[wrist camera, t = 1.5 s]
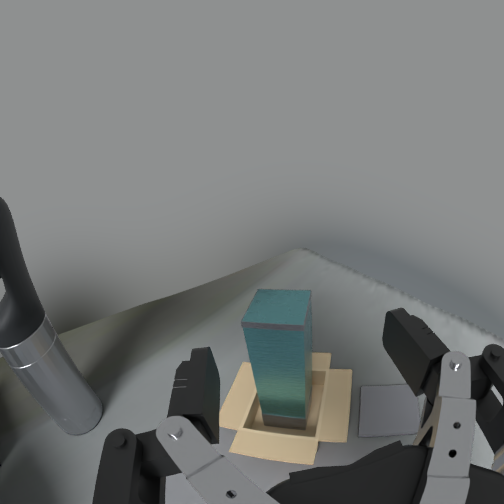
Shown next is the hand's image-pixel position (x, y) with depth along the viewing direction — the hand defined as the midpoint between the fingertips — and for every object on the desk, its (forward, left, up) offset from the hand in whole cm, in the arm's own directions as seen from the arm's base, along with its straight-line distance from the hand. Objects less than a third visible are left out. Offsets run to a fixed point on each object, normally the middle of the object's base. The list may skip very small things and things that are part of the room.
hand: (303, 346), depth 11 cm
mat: (+9, +11, -22) cm, 27 cm away
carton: (-4, +10, -22) cm, 25 cm away
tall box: (-4, +10, -22) cm, 24 cm away
